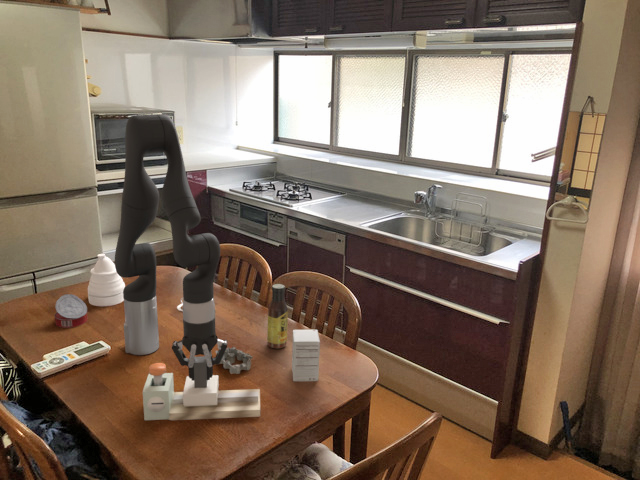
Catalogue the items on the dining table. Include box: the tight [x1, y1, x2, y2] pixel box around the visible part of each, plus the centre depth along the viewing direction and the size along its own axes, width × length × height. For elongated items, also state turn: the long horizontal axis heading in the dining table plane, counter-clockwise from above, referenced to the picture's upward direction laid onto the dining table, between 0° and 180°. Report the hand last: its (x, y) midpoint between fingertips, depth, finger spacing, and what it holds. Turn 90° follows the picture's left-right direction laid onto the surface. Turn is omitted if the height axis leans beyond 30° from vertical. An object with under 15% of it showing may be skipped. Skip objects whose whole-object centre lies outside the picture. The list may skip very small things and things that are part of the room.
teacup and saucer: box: [176, 297, 183, 312], centre depth 188 cm, size 9×8×4 cm
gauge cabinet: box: [142, 372, 175, 421], centre depth 129 cm, size 6×9×8 cm
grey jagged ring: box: [215, 346, 253, 375], centre depth 152 cm, size 11×8×4 cm
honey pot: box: [87, 253, 126, 307], centre depth 190 cm, size 13×13×18 cm
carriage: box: [182, 355, 220, 407], centre depth 130 cm, size 8×8×12 cm
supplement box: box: [291, 329, 321, 382], centre depth 147 cm, size 7×7×13 cm
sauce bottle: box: [266, 283, 289, 350], centre depth 162 cm, size 7×6×20 cm
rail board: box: [168, 388, 261, 421], centre depth 132 cm, size 22×9×4 cm, turn 97°
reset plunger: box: [148, 362, 167, 386], centre depth 128 cm, size 4×4×6 cm
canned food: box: [54, 293, 89, 329], centre depth 174 cm, size 11×10×10 cm
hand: (201, 378), depth 130 cm, fingers closed on carriage, 3 cm apart
